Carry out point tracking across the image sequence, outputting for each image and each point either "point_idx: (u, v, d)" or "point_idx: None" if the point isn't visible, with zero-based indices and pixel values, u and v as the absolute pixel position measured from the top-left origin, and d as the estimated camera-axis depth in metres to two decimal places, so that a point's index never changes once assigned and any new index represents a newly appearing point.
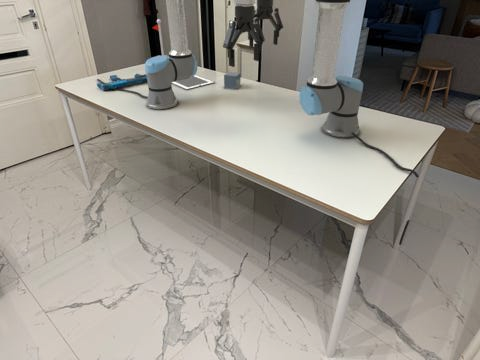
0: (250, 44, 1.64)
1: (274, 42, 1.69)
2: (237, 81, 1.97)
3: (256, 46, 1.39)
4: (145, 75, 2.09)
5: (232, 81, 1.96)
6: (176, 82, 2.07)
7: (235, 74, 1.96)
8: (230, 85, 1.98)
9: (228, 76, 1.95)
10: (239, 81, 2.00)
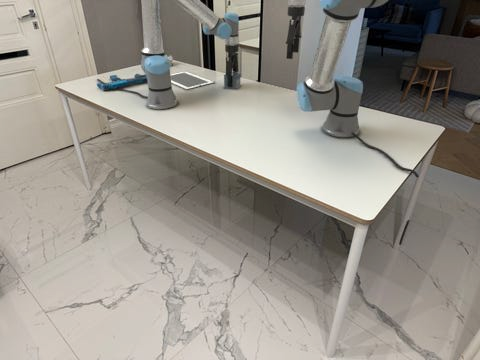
0: (289, 56, 1.56)
1: (295, 50, 1.67)
2: (237, 81, 1.97)
3: None
4: (145, 75, 2.09)
5: (232, 81, 1.96)
6: (176, 82, 2.07)
7: (235, 74, 1.96)
8: None
9: None
10: (239, 81, 2.00)
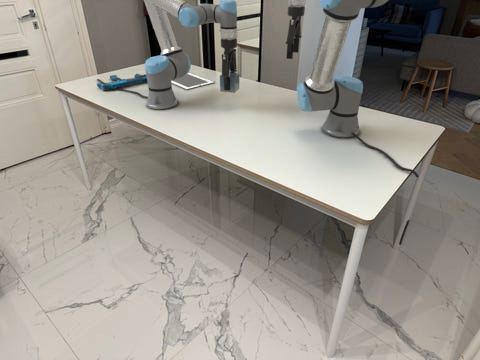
0: (289, 56, 1.56)
1: (295, 50, 1.67)
2: (236, 83, 1.64)
3: None
4: (145, 75, 2.09)
5: (230, 83, 1.62)
6: (176, 82, 2.07)
7: (233, 75, 1.63)
8: None
9: None
10: (238, 83, 1.67)
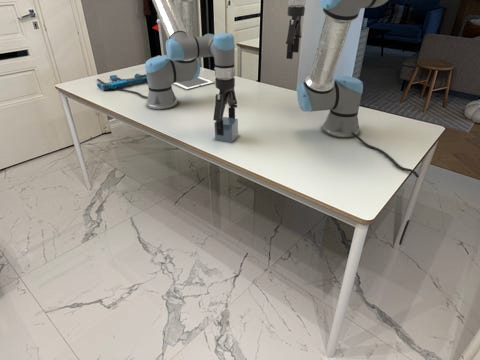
0: (289, 56, 1.56)
1: (295, 50, 1.67)
2: (233, 131, 1.40)
3: None
4: (145, 75, 2.09)
5: (226, 131, 1.39)
6: None
7: (230, 121, 1.39)
8: (223, 136, 1.40)
9: None
10: (236, 130, 1.43)
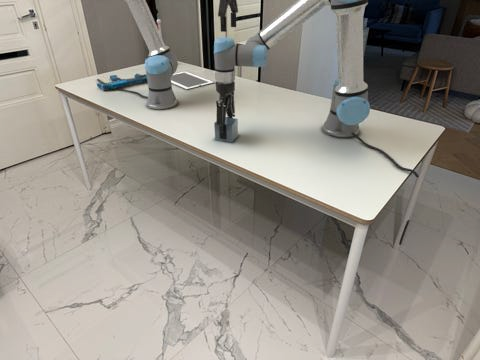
0: (222, 136, 1.40)
1: None
2: (233, 131, 1.40)
3: None
4: (145, 75, 2.09)
5: (226, 131, 1.39)
6: (176, 82, 2.07)
7: (230, 121, 1.39)
8: None
9: None
10: (236, 130, 1.43)
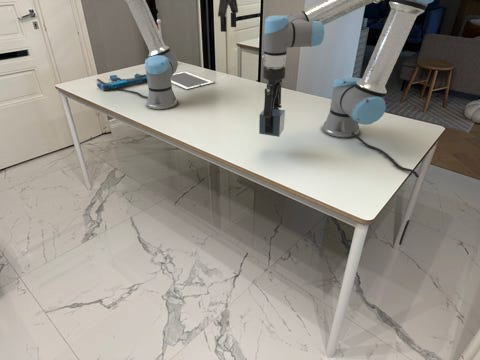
0: (268, 130, 1.24)
1: None
2: (281, 124, 1.24)
3: None
4: (145, 75, 2.09)
5: (273, 124, 1.23)
6: (176, 82, 2.07)
7: (277, 113, 1.23)
8: None
9: None
10: (283, 123, 1.27)
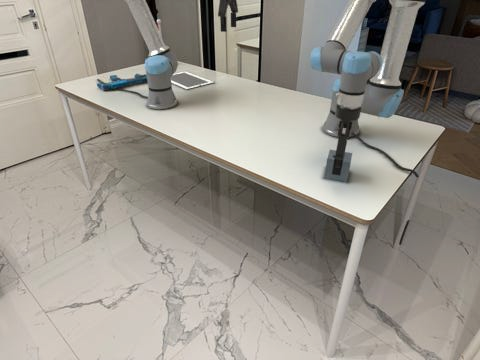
0: (336, 171, 1.11)
1: None
2: None
3: None
4: (145, 75, 2.09)
5: (341, 169, 1.14)
6: (176, 82, 2.07)
7: (346, 157, 1.14)
8: (335, 175, 1.15)
9: None
10: None
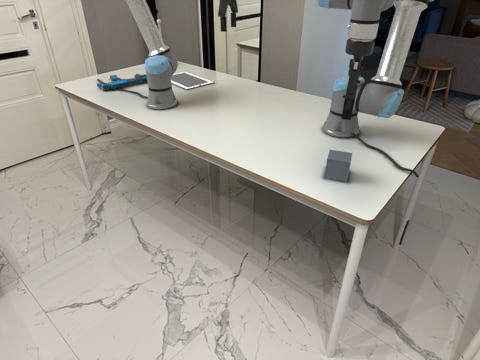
0: (346, 115, 1.00)
1: None
2: None
3: None
4: (145, 75, 2.09)
5: (341, 169, 1.14)
6: (176, 82, 2.07)
7: (346, 157, 1.14)
8: (335, 175, 1.15)
9: (335, 161, 1.13)
10: None
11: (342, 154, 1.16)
